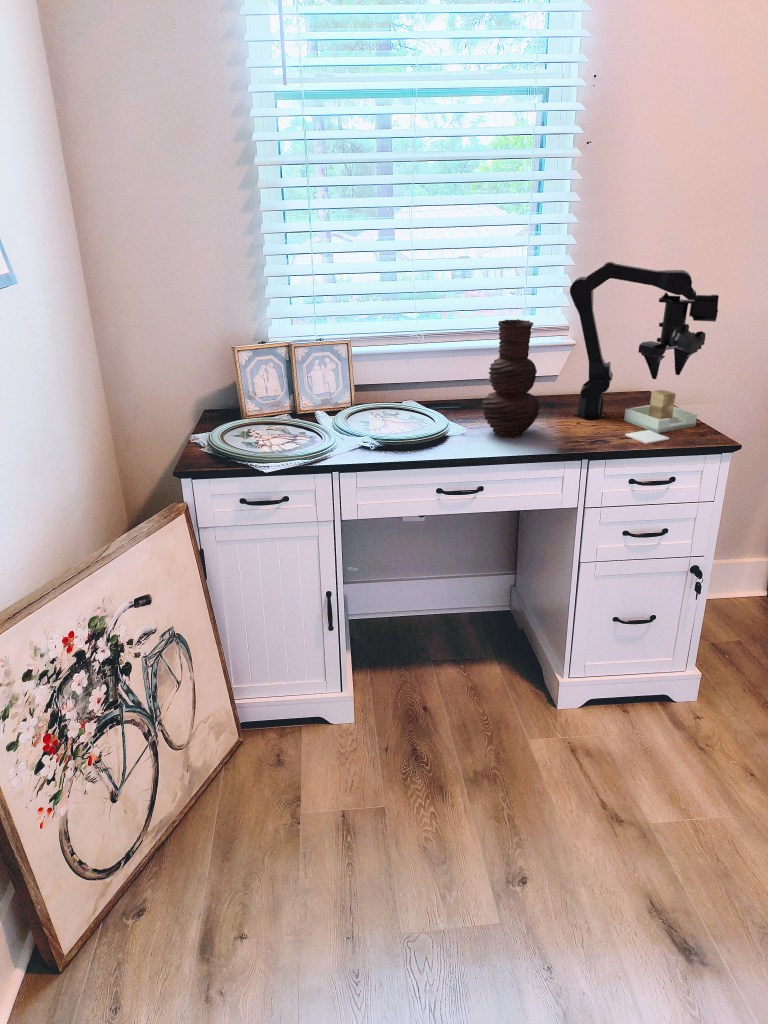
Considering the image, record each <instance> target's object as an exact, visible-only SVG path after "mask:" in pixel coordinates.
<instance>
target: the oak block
mask: <svg viewBox="0 0 768 1024" xmlns="http://www.w3.org/2000/svg"><path fill="white" fill-rule="evenodd" d="M675 401H676V392H673V391H671V390H667V389H659V390H654V391H653V390H652V391H651V395H650V402H649V405H650V408H649V415H648V416H651V417H654V418H656V419H659V420H660V419H666V418H672V416H673V409H674V407H675V404H676V403H675Z"/></svg>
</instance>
